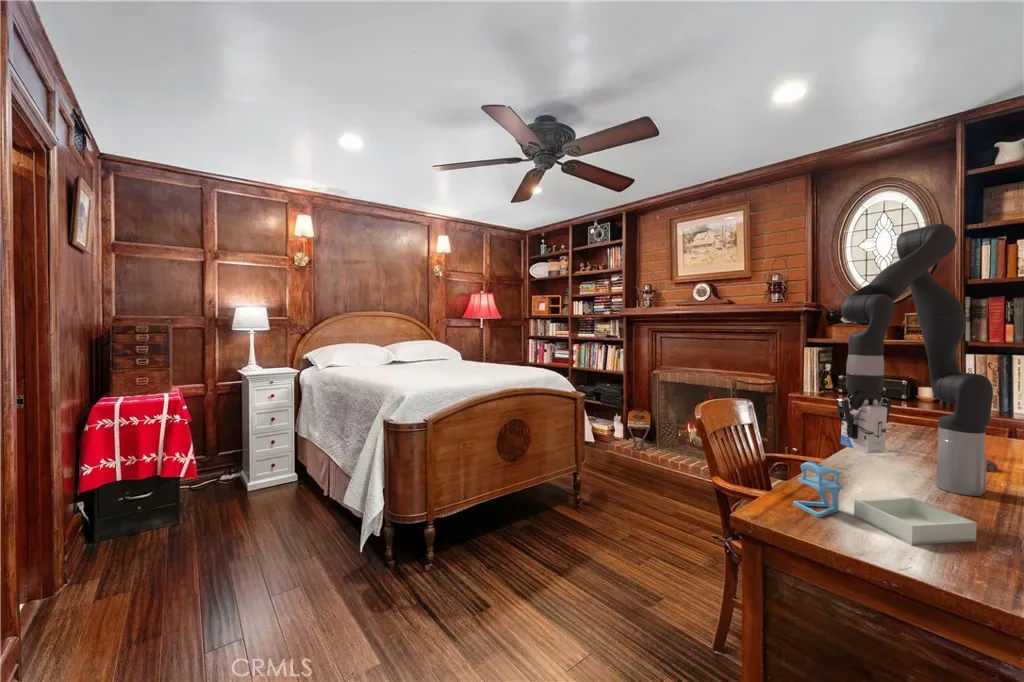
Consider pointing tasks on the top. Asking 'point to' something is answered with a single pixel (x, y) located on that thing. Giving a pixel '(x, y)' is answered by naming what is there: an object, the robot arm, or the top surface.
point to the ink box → (868, 430)
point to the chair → (820, 488)
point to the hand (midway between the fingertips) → (862, 437)
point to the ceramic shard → (990, 464)
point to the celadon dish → (915, 521)
